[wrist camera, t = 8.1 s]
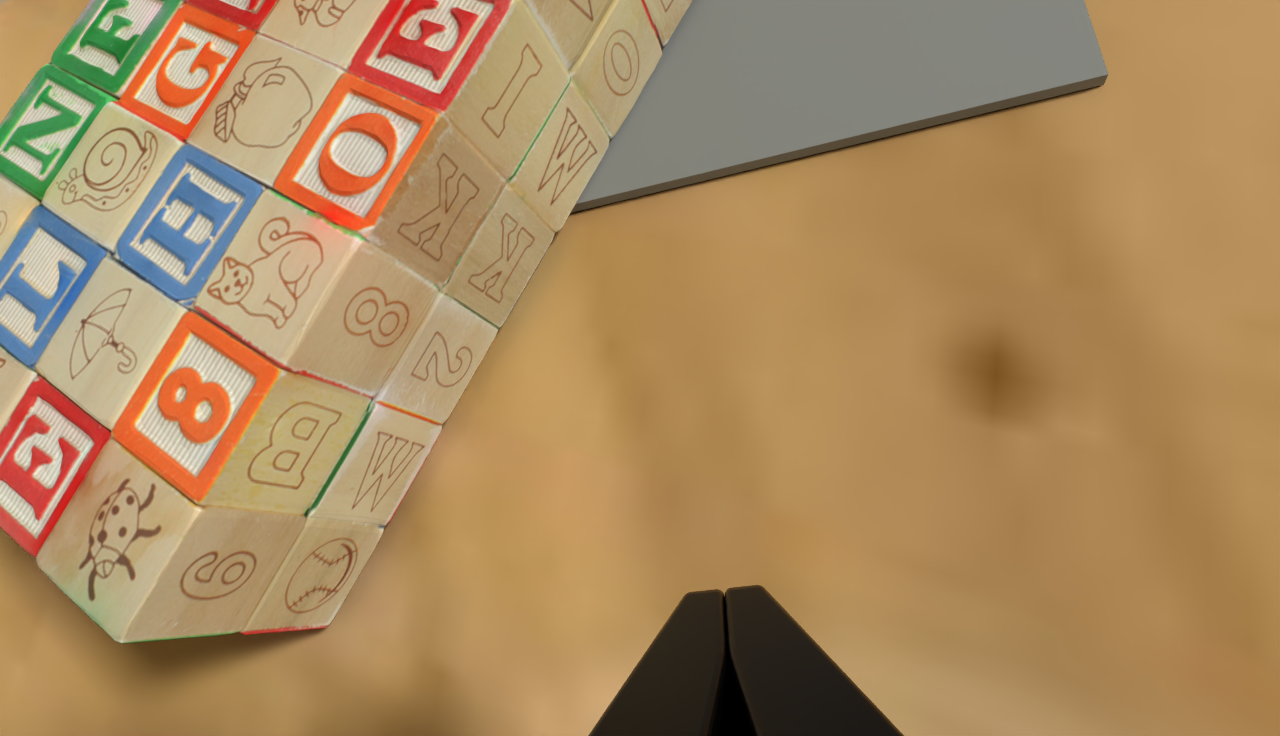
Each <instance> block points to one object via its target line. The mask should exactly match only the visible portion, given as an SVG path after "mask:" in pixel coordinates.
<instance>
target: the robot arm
mask: <svg viewBox="0 0 1280 736" xmlns="http://www.w3.org/2000/svg"><path fill="white" fill-rule="evenodd" d="M589 736H904V735H903V734H902V733H901V732H900V731H899V730H898V729H897V728H896V727H895V726H894V725H893V724H892V723H891V721H890V720H889V719H888V718H887V717H886V716H885V715H884V714H883V713H882V712H881V711H880V710H879V709H878V708H877V707H876V706H875V705H874V703H873V702H872V701H871V700H870V699H869V698H868V697H867V696H866V695H865V694H864V693H863V692H862V691H861V690H860V689H859V688H858V687H857V686H856V684H855V683H854V682H853V681H852V680H851V679H850V678H849V677H848V676H847V675H846V674H845V673H844V672H843V671H842V670H841V669H840V668H839V666H838V665H837V664H836V663H835V662H834V661H833V660H832V659H831V658H830V657H829V656H828V655H827V654H826V653H825V652H824V651H823V650H822V648H821V647H820V646H819V645H818V644H817V643H816V642H815V641H814V640H813V639H812V638H811V637H810V636H809V635H808V634H807V633H806V632H805V630H804V629H803V628H802V627H801V626H800V625H799V624H798V623H797V622H796V621H795V620H794V619H793V618H792V617H791V616H790V615H789V614H788V613H787V611H786V610H785V609H784V608H783V607H782V606H781V605H780V604H779V603H778V602H777V601H776V600H775V599H774V598H773V597H772V596H771V595H770V593H769V592H768V591H767V590H766V589H765V588H764V587H762V586H760V585H752V586H743V587H734V588H729V589H728V590H726V592H725V596H724V593H723V592H722V591H721V590H717V589H715V590H706V591H696V592H689V593H687V594H686V595H685V596H684V597H683V598H682V600H681V601H680V603H679V604H678V606H677V607H676V609H675V610H674V611H673V613H672V614H671V616H670V617H669V619H668V620H667V622H666V623H665V625H664V626H663V628H662V629H661V630H660V632H659V633H658V635H657V636H656V638H655V639H654V641H653V642H652V644H651V645H650V647H649V648H648V649H647V651H646V652H645V654H644V655H643V657H642V658H641V660H640V661H639V663H638V664H637V666H636V667H635V668H634V670H633V671H632V673H631V674H630V676H629V677H628V679H627V680H626V682H625V683H624V684H623V686H622V687H621V689H620V690H619V692H618V693H617V695H616V696H615V698H614V699H613V701H612V702H611V703H610V705H609V706H608V708H607V709H606V711H605V712H604V714H603V715H602V717H601V718H600V720H599V721H598V722H597V724H596V725H595V727H594V728H593V730H592V731H591V733H590V734H589Z"/></svg>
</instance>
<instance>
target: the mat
mask: <svg viewBox="0 0 1280 736" xmlns="http://www.w3.org/2000/svg"><path fill="white" fill-rule="evenodd" d="M1107 76H1108V72H1107V69H1106V66H1105V63H1104V60H1103V57H1102V54H1101V51H1100V48H1099V45H1098V42H1097V38H1096V35H1095V32H1094V29H1093V26H1092V23H1091V20H1090V17H1089V14H1088V11H1087V8H1086V5H1085V2H1084V0H693V1H692V3H691V4H690V6H689V8H688V9H687V11H686V12H685V14H684V16H683V17H682V19H681V21H680V22H679V24H678V26H677V27H676V29H675V31H674V32H673V34H672V36H671V37H670V39H669V41H668V42H667V44H666V45H665V46H663V47H662V56H661V58H660V60H659V62H658V64H657V66H656V68H655V69H654V71H653V73H652V75H651V76H650V78H649V80H648V81H647V83H646V85H645V86H644V88H643V90H642V91H641V93H640V95H639V97H638V99H637V100H636V102H635V104H634V106H633V107H632V109H631V111H630V112H629V114H628V116H627V117H626V119H625V120H624V122H623V124H622V125H621V127H620V128H619V130H618V131H617V133H616V134H615V136H614V137H613V138H611V139H610V141H609V146H608V149H607V150H606V152H605V154H604V156H603V158H602V160H601V161H600V163H599V165H598V166H597V168H596V170H595V172H594V173H593V175H592V177H591V178H590V180H589V182H588V183H587V185H586V187H585V189H584V190H583V192H582V194H581V195H580V197H579V199H578V201H577V202H576V204H575V206H574V208H573V209H572V211H571V213H572V212H576V211H580V210H585V209H589V208H593V207H597V206H601V205H605V204H610V203H614V202H618V201H622V200H626V199H630V198H635V197H639V196H643V195H647V194H651V193H655V192H659V191H664V190H668V189H672V188H676V187H680V186H684V185H689V184H693V183H697V182H701V181H705V180H709V179H714V178H718V177H722V176H726V175H730V174H734V173H738V172H743V171H747V170H751V169H755V168H759V167H763V166H768V165H772V164H776V163H780V162H784V161H788V160H793V159H797V158H801V157H805V156H809V155H813V154H817V153H822V152H826V151H830V150H834V149H838V148H842V147H847V146H851V145H855V144H859V143H863V142H867V141H872V140H876V139H880V138H884V137H888V136H892V135H896V134H901V133H905V132H909V131H913V130H917V129H921V128H926V127H930V126H934V125H938V124H942V123H946V122H951V121H955V120H959V119H963V118H967V117H971V116H975V115H980V114H984V113H988V112H992V111H996V110H1000V109H1005V108H1009V107H1013V106H1017V105H1021V104H1025V103H1029V102H1034V101H1038V100H1042V99H1046V98H1050V97H1054V96H1059V95H1063V94H1067V93H1071V92H1075V91H1079V90H1084V89H1088V88H1092V87H1096V86H1100V85H1104V83H1105V81H1106V78H1107Z"/></svg>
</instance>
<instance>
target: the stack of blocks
mask: <svg viewBox="0 0 1280 736" xmlns="http://www.w3.org/2000/svg"><path fill="white" fill-rule="evenodd" d="M692 1H693V0H90V2H89V3H88V5H87V6H86V8H85V9H84V10H83V12H82V13H81V15H80V16H79V18H78V19H77V20H76V22H75V23H74V25H73V26H72V27H71V29H70V30H69V31H68V33H67V34H66V36H65V37H64V38H63V40H62V41H61V43H60V44H59V45H58V47H57V48H56V49H55V51H54V53H53V55H52V58H51V62H50V63H48V64H46V65H44V66H43V67H42V68H41V69H40V70H39V71H38V72H37V73H36V74H35V76H34V77H33V79H32V80H31V82H30V83H29V84H28V86H27V87H26V89H25V90H24V92H23V93H22V94H21V96H20V97H19V98H18V100H17V101H16V102H15V104H14V105H13V106H12V108H11V109H10V111H9V112H8V114H7V115H6V116H5V118H4V119H3V121H2V122H1V123H0V527H1V528H2V529H3V530H4V531H5V532H6V533H7V534H8V535H9V536H10V537H11V538H12V539H13V540H15V541H16V542H17V543H18V544H19V545H20V546H21V547H22V548H23V549H24V550H25V551H26V552H28V553H29V554H30V555H32V556H33V557H35V558H36V564H37V565H38V567H39V568H40V569H41V570H42V571H43V572H44V573H45V574H46V575H47V576H48V577H49V578H50V579H51V580H52V581H53V582H54V583H55V584H56V585H57V586H58V587H59V588H60V589H61V590H62V591H63V592H64V593H65V594H66V595H67V596H68V597H69V598H70V599H71V600H73V601H74V602H75V603H76V604H77V605H78V606H79V607H80V608H81V609H82V610H83V611H84V612H85V613H86V614H87V615H88V616H89V617H90V618H91V619H92V620H93V621H94V622H96V623H97V624H98V625H99V626H100V627H101V628H102V629H103V630H104V631H105V632H106V633H107V634H108V635H110V636H111V637H112V638H113V639H114V640H115V641H117V642H120V643H122V644H124V643H137V642H149V641H160V640H170V639H181V638H194V637H207V636H218V635H225V634H232V633H236V632H239V633H241V634H244V635H249V634H259V633H275V632H286V631H300V630H309V629H321V628H326V627H327V626H328V625H329V624H330V623H331V622H332V620H333V619H334V617H335V615H336V614H337V612H338V611H339V609H340V607H341V605H342V604H343V602H344V600H345V599H346V597H347V595H348V593H349V592H350V590H351V588H352V587H353V585H354V583H355V581H356V580H357V578H358V576H359V575H360V573H361V571H362V570H363V568H364V566H365V565H366V563H367V561H368V559H369V558H370V556H371V554H372V553H373V551H374V549H375V547H376V545H377V543H378V542H379V540H380V538H381V536H382V534H383V530H384V527H385V526H386V525H387V524H388V523H389V522H390V521H391V519H392V517H393V515H394V514H395V512H396V510H397V508H398V507H399V505H400V503H401V502H402V500H403V498H404V496H405V495H406V493H407V491H408V489H409V488H410V486H411V484H412V482H413V481H414V479H415V477H416V475H417V474H418V472H419V470H420V468H421V467H422V465H423V463H424V461H425V460H426V458H427V456H428V454H429V453H430V451H431V449H432V447H433V446H434V444H435V442H436V440H437V438H438V437H439V434H440V432H441V430H442V424H443V423H444V422H445V421H446V420H447V419H448V417H449V416H450V414H451V412H452V411H453V409H454V407H455V406H456V404H457V402H458V400H459V399H460V397H461V395H462V394H463V392H464V390H465V388H466V387H467V385H468V383H469V381H470V380H471V378H472V376H473V375H474V373H475V371H476V369H477V368H478V366H479V364H480V363H481V361H482V359H483V358H484V356H485V354H486V352H487V351H488V349H489V347H490V345H491V343H492V342H493V340H494V339H495V337H496V334H497V332H498V329H499V328H500V327H501V326H502V325H503V324H504V322H505V320H506V319H507V317H508V315H509V314H510V312H511V310H512V309H513V307H514V305H515V304H516V302H517V300H518V298H519V297H520V295H521V293H522V292H523V290H524V288H525V286H526V285H527V283H528V281H529V279H530V278H531V276H532V275H533V273H534V271H535V270H536V268H537V266H538V265H539V263H540V261H541V259H542V258H543V256H544V254H545V253H546V251H547V249H548V247H549V246H550V244H551V242H552V241H553V237H554V234H555V233H556V232H557V231H559V230H560V229H562V227H563V225H564V223H565V221H566V220H567V218H568V216H569V214H570V213H571V211H572V209H573V208H574V206H575V204H576V202H577V201H578V199H579V197H580V195H581V194H582V192H583V190H584V189H585V187H586V185H587V183H588V182H589V180H590V178H591V177H592V175H593V173H594V172H595V170H596V168H597V166H598V165H599V163H600V161H601V160H602V158H603V156H604V154H605V152H606V150H607V149H608V146H609V141H610V139H611V138H613V137H614V136H615V134H616V133H617V131H618V130H619V128H620V127H621V125H622V124H623V122H624V120H625V119H626V117H627V116H628V114H629V112H630V111H631V109H632V107H633V106H634V104H635V102H636V100H637V99H638V97H639V95H640V93H641V91H642V90H643V88H644V86H645V85H646V83H647V81H648V80H649V78H650V76H651V75H652V73H653V71H654V69H655V68H656V66H657V64H658V62H659V60H660V58H661V56H662V47H663V46H665V45H666V44H667V42H668V41H669V39H670V37H671V36H672V34H673V32H674V31H675V29H676V27H677V26H678V24H679V22H680V21H681V19H682V17H683V16H684V14H685V12H686V11H687V9H688V8H689V6H690V4H691V3H692Z"/></svg>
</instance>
